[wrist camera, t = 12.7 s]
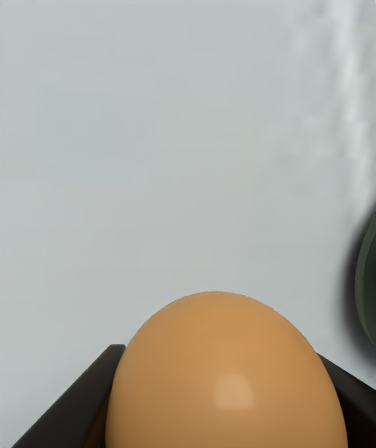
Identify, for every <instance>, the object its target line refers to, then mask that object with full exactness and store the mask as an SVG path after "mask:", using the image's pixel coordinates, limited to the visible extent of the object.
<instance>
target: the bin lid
mask: <svg viewBox="0 0 376 448" xmlns="http://www.w3.org/2000/svg"><path fill="white" fill-rule="evenodd" d="M354 292H355V302H356V309H357V312H358V316H359V320H360V323H361V325H362V327H363V329H364V332H365V334H366V336H367V337H368V339H369V340H370V342H371V343H372V345H373V346H374V347H375V348H376V214H375V215H374V217H373V219H372V221H371V223H370V225H369V228H368V230H367V232H366V234H365V237H364V239H363V242H362V246H361V249H360V252H359V256H358V260H357V266H356V272H355V288H354Z"/></svg>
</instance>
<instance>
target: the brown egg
mask: <svg viewBox="0 0 376 448" xmlns="http://www.w3.org/2000/svg"><path fill="white" fill-rule="evenodd" d="M105 447H106V448H348V442H347V434H346V427H345V423H344V418H343V413H342V409H341V406H340V403H339V400H338V397H337V394H336V391H335V388H334V385H333V383H332V381H331V379H330V377H329V375H328V373H327V371H326V369H325V367H324V365H323V363H322V361H321V359H320V358H319V356H318V355H317V353H316V352H315V350H314V349H313V347H312V346H311V345H310V343H309V342H308V341H307V339H306V338H305V337H304V336H303V335H302V334H301V333H300V332H299V331H298V329H297V328H296V327H294V326H293V325H292V324H291V323H290V322H289V321H288V320H287V319H286V318H284V317H283V316H282V315H280V314H279V313H278V312H276V311H275V310H273V309H272V308H271V307H269V306H267V305H265V304H263V303H261V302H259V301H257V300H255V299H252V298H249V297H246V296H244V295H239V294H234V293H229V292H218V291H215V292H202V293H196V294H192V295H189V296H185V297H183V298H180V299H178V300H176V301H174V302H172V303H170V304H168V305H167V306H165V307H164V308H162V309H161V310H159V311H158V312H157V313H155V314H154V315H153V316H152V317H151V318H150V319H148V320H147V321H146V322H145V323H144V324H143V326H142V327H141V328H140V329H139V331H138V332H137V333H136V334H135V336H134V337H133V338H132V339H131V341H130V343H129V344H128V346H127V348H126V350H125V351H124V353H123V355H122V357H121V359H120V361H119V364H118V366H117V369H116V372H115V375H114V380H113V385H112V390H111V394H110V399H109V405H108V411H107V417H106V426H105Z"/></svg>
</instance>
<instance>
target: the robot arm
mask: <svg viewBox="0 0 376 448" xmlns="http://www.w3.org/2000/svg"><path fill="white" fill-rule="evenodd" d="M125 350H126V346H125V345H124V344H112V345H110V346H109V347H108V348H107V349H106V350H105V351H104V352H103V353H102V354H101V355H100V356H99V357H98V358H97V359H96V360H95V361H94V362H93V363H92V364H91V365H90V366H89V368H88V369H87V370H86V371H85V372H84V373H83V374H82V375H81V376H80V377H79V378H78V379H77V380H76V381H75V382H74V383H73V384H72V385H71V386H70V387H69V388H68V389H67V390H66V391H65V392H64V393H63V395H62V396H61V397H60V398H59V399H58V400H57V401H56V402H55V403H54V404H53V405H52V406H51V407H50V408H49V409H48V410H47V411H46V412H45V413H44V414H43V415H42V416H41V417H40V418H39V419H38V420H37V422H36V423H35V424H34V425H33V426H32V427H31V428H30V429H29V430H28V431H27V432H26V433H25V434H24V435H23V436H22V437H21V438H20V439H19V440H18V441H17V442H16V443H15V444H14V445H13V446H12V447H11V448H106V447H105V426H106V417H107V411H108V405H109V399H110V394H111V390H112V385H113V380H114V375H115V372H116V369H117V366H118V364H119V361H120V359H121V357H122V355H123V353H124V351H125ZM316 353H317V352H316ZM317 355H318V356H319V358H320V359H321V361H322V363H323V365H324V367H325V369H326V371H327V373H328V375H329V377H330V379H331V381H332V383H333V385H334V388H335V391H336V394H337V397H338V400H339V403H340V406H341V409H342V413H343V418H344V423H345V427H346V434H347V442H348V448H376V390H375V389H373V388H371V387H370V386H368V385H367V384H365V383H364V382H362V381H360V380H359V379H357V378H356V377H354V376H353V375H351V374H349V373H348V372H346V371H345V370H343V369H342V368H340V367H339V366H337V365H335V364H334V363H332V362H331V361H329V360H328V359H326V358H324V357H323V356H321V355H320V354H318V353H317Z"/></svg>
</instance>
